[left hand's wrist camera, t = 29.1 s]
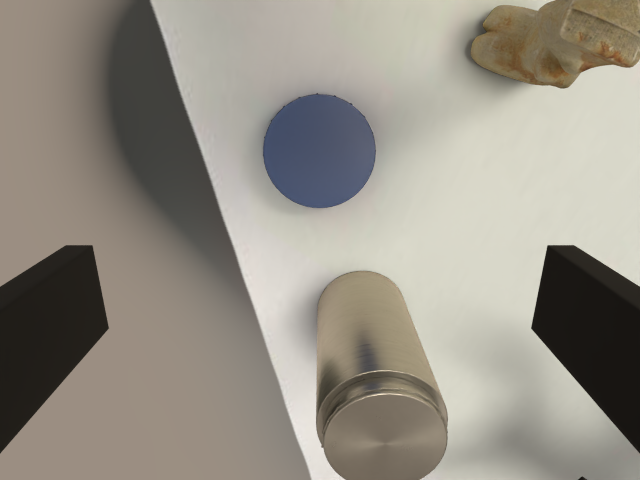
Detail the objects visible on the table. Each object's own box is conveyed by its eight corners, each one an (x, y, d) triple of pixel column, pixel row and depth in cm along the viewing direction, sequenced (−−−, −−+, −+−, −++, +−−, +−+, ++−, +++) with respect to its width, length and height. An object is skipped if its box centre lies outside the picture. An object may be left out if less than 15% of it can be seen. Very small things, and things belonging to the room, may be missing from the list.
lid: (261, 196, 41) (259, 201, 39) (269, 87, 37) (267, 87, 36) (364, 208, 41) (366, 214, 39) (381, 101, 38) (384, 102, 36)
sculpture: (494, -7, 35) (613, -69, 21) (566, 36, 36) (726, 4, 22) (456, 63, 36) (541, 49, 22) (525, 101, 38) (649, 111, 23)
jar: (408, 272, 43) (464, 388, 27) (400, 348, 47) (445, 496, 30) (318, 269, 43) (317, 385, 27) (316, 346, 46) (314, 493, 30)
